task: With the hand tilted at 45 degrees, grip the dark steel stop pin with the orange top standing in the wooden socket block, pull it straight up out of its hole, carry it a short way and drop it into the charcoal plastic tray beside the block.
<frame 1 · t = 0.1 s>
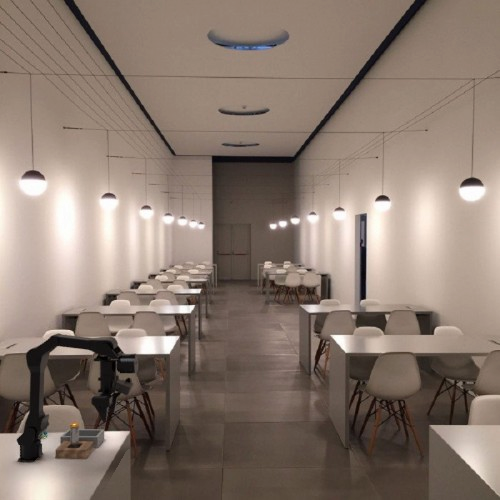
hand: (108, 417, 183), 15 cm above the table, tool pointing down, fingers open, 9 cm apart
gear: (37, 436, 206), on the table
tray: (82, 443, 197), on the table
wooden socket block: (74, 453, 188), on the table
stop pin: (74, 438, 188), in the wooden socket block
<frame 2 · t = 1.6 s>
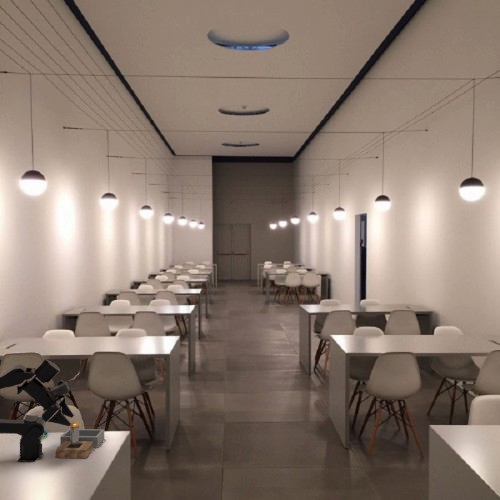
hand: (71, 420, 187), 12 cm above the table, tool tilted 45°, fingers open, 9 cm apart
nothing on the table moved.
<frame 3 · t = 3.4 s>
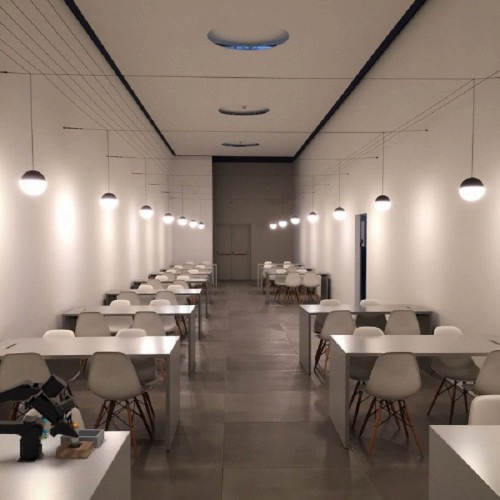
hand: (78, 435, 188), 7 cm above the table, tool tilted 45°, fingers closed on stop pin, 3 cm apart
stop pin: (74, 438, 188), in the wooden socket block, touching gripper
everything else where it was.
when the fingers open (9 cm above the table, at t = 6.9 s): stop pin drops 1 cm, resting on tray.
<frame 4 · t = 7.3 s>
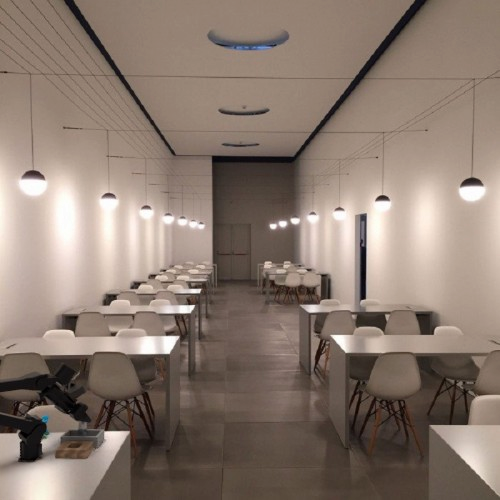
hand: (86, 419, 198), 9 cm above the table, tool tilted 45°, fingers open, 7 cm apart
stop pin: (82, 426, 197), in the tray, point 6 cm above the table
everything else where it was.
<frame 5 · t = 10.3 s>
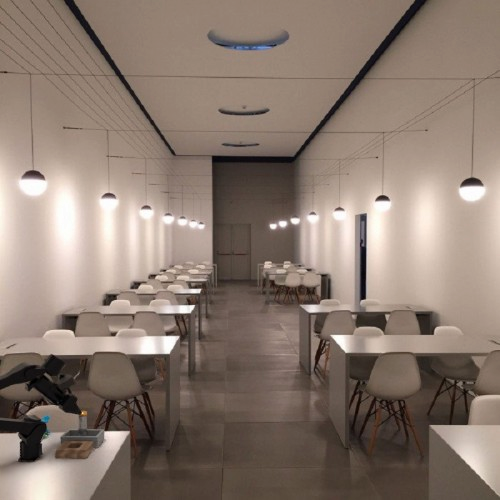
hand: (75, 410, 196), 13 cm above the table, tool tilted 45°, fingers open, 9 cm apart
at the end: stop pin inside the target area on the tray (0.0 cm from its centre), point 6.5 cm above the tray's base; the gripper is holding nothing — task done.
